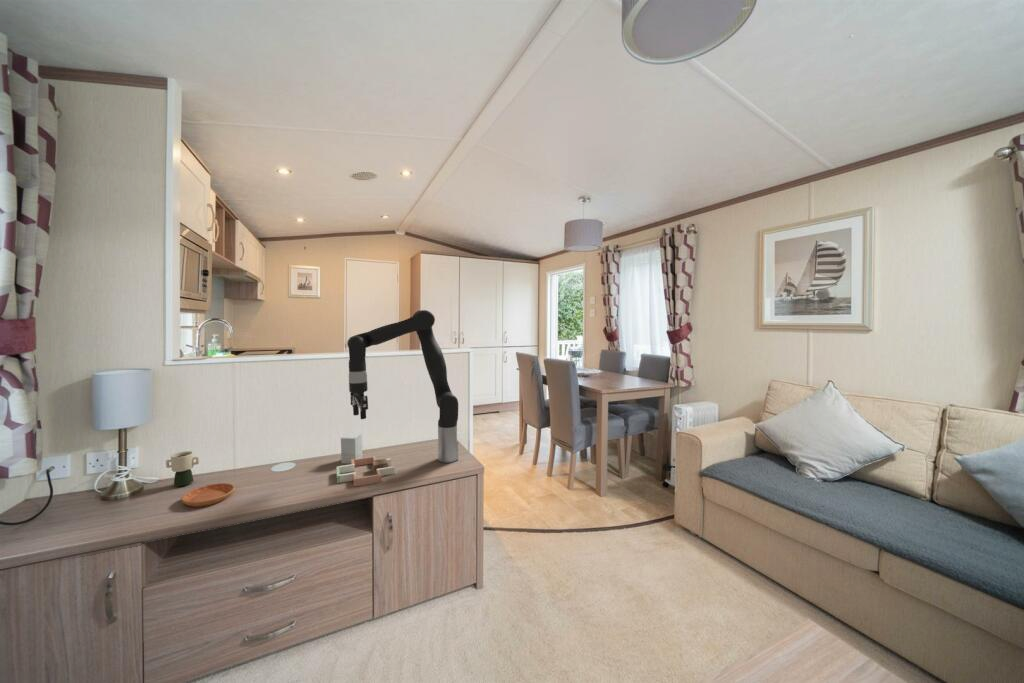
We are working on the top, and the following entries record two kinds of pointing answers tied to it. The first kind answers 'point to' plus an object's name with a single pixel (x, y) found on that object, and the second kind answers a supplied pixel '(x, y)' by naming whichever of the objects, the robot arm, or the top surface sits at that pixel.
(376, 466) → the walnut block
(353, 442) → the supplement box
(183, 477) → the character mug
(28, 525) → the top surface
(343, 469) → the corral
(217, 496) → the saucer
